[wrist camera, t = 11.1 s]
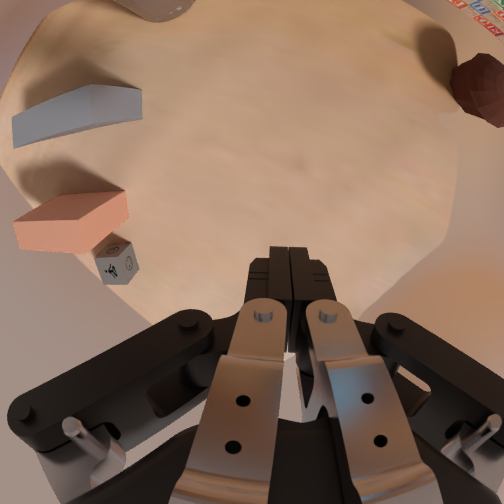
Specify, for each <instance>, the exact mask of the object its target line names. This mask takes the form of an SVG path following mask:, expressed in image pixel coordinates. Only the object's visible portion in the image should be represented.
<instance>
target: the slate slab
mask: <svg viewBox="0 0 504 504" xmlns="http://www.w3.org/2000/svg"><path fill="white" fill-rule="evenodd" d="M140 119H142V90H140V89H133V88H126V87H118V86H109V85H98V84H89V85H86V86H83V87H80V88H78V89H75V90H72V91H69V92H67V93H64V94H61V95H59V96H56V97H54V98H52V99H49V100H47V101H44V102H42V103H40V104H38V105H36V106H33V107H31V108H29V109H27V110H25V111H23V112H21V113H19V114H17V115H15V116H13V117H12V133H13V146H14V149H15V148H18V147H21V146H25V145H28V144H32V143H36V142H39V141H43V140H47V139H52V138H56V137H60V136H65V135H69V134H73V133H77V132H81V131H85V130H89V129H93V128H98V127H102V126H107V125H112V124H117V123H122V122H128V121H134V120H140Z"/></svg>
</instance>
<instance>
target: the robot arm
mask: <svg viewBox="0 0 504 504" xmlns="http://www.w3.org/2000/svg"><path fill="white" fill-rule="evenodd" d="M113 1H115V2H117V3H119V4H120V5H122V6H124V7H125V8H127V9H129V10H130V11H132V12H134V13H135V14H137V15H138V16H140V17H142V18H143V19H145V20H147V21H150V22H164V21H168V20H171V19H174V18H176V17H178V16H180V15H181V14H182V13H184V12H185V11H186V10H187V9H189V8H190V6H191V5H192V4H193V2H194V1H195V0H113ZM287 343H288V352H289V353H296V364H297V367H296V374H297V380H298V387H299V394H300V400H301V408H302V423H299V422H294V421H289V420H285V419H280V418H278V416H279V407H280V397H281V387H282V377H283V366H284V361H283V359H284V352H286V351H287ZM400 365H401V366H402V367H403V368H405V369H406V370H408V371H409V372H411V373H412V374H414V375H415V376H416V377H418V378H419V379H421V380H422V381H424V382H425V383H427V384H428V385H429V387H430V389H431V391H430V392H427V391H423V390H422V389H421V388H419V387H418V386H416V385H415V384H413V383H412V382H411V381H409V380H408V379H407V378H405V377H404V376H402V375H401V374H399V373H398V372H397V371H398V369H399V367H400ZM206 398H207V400H206V403H205V407H204V410H203V413H202V416H201V419H200V423H199V424H198V425H195V426H192V427H190V428H187V429H185V430H183V431H181V432H179V433H178V434H176V435H174V436H173V437H171V438H170V439H169V440H167V441H166V442H165V443H163V444H162V445H160V446H159V447H158V448H156V449H155V450H153V451H152V452H150V453H149V454H148V455H146V456H145V457H143V458H142V459H140V460H139V461H137V462H136V463H134V464H133V465H131V466H130V467H128V468H127V469H125V470H123V471H122V469H123V467H124V465H125V462H126V453H125V452H127V451H129V450H130V449H132V448H134V447H135V446H137V445H139V444H140V443H142V442H143V441H145V440H147V439H148V438H150V437H151V436H153V435H154V434H156V433H157V432H159V431H160V430H162V429H164V428H165V427H167V426H168V425H170V424H171V423H172V422H174V421H175V420H177V419H178V418H180V417H181V416H183V415H184V414H186V413H187V412H188V411H190V410H191V409H192V408H194V407H195V406H197V405H198V404H200V403H201V402H202V401H204V400H205V399H206ZM7 421H8V425H9V427H10V429H11V430H12V431H13V432H14V433H15V434H16V435H17V436H18V437H19V438H20V439H22V440H23V441H24V442H25V443H26V444H28V445H29V446H30V447H31V448H33V449H34V450H35V452H36V454H37V456H38V459H39V461H40V463H41V465H42V468H43V470H44V472H45V474H46V476H47V479H48V481H49V483H50V485H51V487H52V489H53V490H54V492H55V494H56V496H57V498H58V500H59V502H60V503H61V504H502V503H501V501H500V499H499V497H498V495H497V494H496V492H497V490H498V488H499V486H500V484H501V482H502V480H503V478H504V379H503V378H501V377H500V376H498V375H497V374H495V373H494V372H492V371H491V370H489V369H488V368H486V367H485V366H483V365H482V364H480V363H478V362H477V361H476V360H474V359H472V358H471V357H469V356H468V355H466V354H465V353H463V352H461V351H460V350H458V349H457V348H455V347H454V346H452V345H451V344H449V343H447V342H446V341H444V340H442V339H441V338H439V337H438V336H436V335H435V334H433V333H431V332H430V331H428V330H427V329H425V328H423V327H422V326H420V325H418V324H417V323H415V322H413V321H412V320H410V319H409V318H407V317H405V316H403V315H401V314H398V313H384V314H382V315H380V316H379V317H378V318H377V319H376V321H375V324H370V323H365V322H361V321H357V320H354V319H353V318H352V316H351V313H350V311H349V310H348V308H347V307H346V306H344V305H343V304H341V303H339V302H337V299H336V296H335V293H334V289H333V286H332V283H331V280H330V276H329V273H328V270H327V267H326V266H325V265H324V264H323V263H322V262H321V261H320V260H310V259H309V255H308V250H307V248H306V247H289V249H288V247H277V246H270V253H269V258H255V259H254V260H253V262H252V263H251V264H250V267H249V273H248V280H247V286H246V293H245V299H244V304H243V306H242V307H241V309H240V311H239V312H237V313H236V314H234V315H232V316H230V317H227V318H223V319H217V320H212V318H211V317H210V315H208V314H207V313H205V312H203V311H201V310H196V309H188V310H182V311H179V312H177V313H175V314H173V315H171V316H169V317H167V318H166V319H164V320H162V321H160V322H158V323H156V324H155V325H153V326H151V327H149V328H147V329H145V330H144V331H142V332H140V333H138V334H136V335H134V336H133V337H131V338H129V339H127V340H125V341H123V342H121V343H120V344H118V345H116V346H114V347H112V348H110V349H109V350H107V351H105V352H103V353H101V354H99V355H97V356H96V357H93V358H92V359H90V360H88V361H86V362H84V363H82V364H80V365H78V366H76V367H74V368H72V369H71V370H69V371H67V372H65V373H63V374H61V375H59V376H57V377H55V378H53V379H52V380H50V381H48V382H46V383H44V384H42V385H40V386H38V387H36V388H34V389H32V390H30V391H28V392H26V393H24V394H22V395H20V396H18V397H17V398H16V399H15V400H14V401H13V402H12V403H11V405H10V407H9V410H8V414H7ZM121 471H122V472H121ZM119 472H120V473H119ZM116 474H117V475H116Z"/></svg>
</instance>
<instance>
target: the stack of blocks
mask: <svg viewBox="0 0 504 504" xmlns="http://www.w3.org/2000/svg"><path fill="white" fill-rule="evenodd" d="M447 1H449V2H450V3H452V4H453V5H455V6H456V7H458V8H459V9H461V10H462V11H463V12H465V13H466V14H468V15H469V16H470V17H472V18H474V19H475V20H477V21H478V22H479V23H480V24H481V25H483V26H485V27H486V28H487V29H488V30H489V31H490V32H492V33H493V34H494V35H495V36H496V37H497V38H498V39H499V40H500V41H501V42H503V43H504V0H447Z"/></svg>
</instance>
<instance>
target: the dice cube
mask: <svg viewBox="0 0 504 504" xmlns="http://www.w3.org/2000/svg"><path fill="white" fill-rule="evenodd" d="M94 260H95V262H96V265H97V268H98V271H99V273H100V276H101V279H102V281H103V284H108V285H125V284H128V283H129V282H130V280H131V279H132V278H133V276H134V275H135V274H136V273H137V271H138V270H139V266H138V263H137V260H136V257H135V253H134V250H133V246H132V243H123V244H111V245H107V246H106V247H105V248H104V249H103V250H102V251H101V252H100V253H99V254H98V255H97V256H96V257H95V258H94Z"/></svg>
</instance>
